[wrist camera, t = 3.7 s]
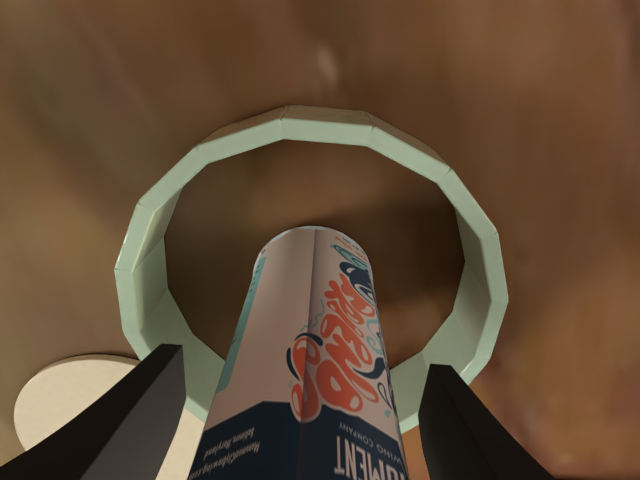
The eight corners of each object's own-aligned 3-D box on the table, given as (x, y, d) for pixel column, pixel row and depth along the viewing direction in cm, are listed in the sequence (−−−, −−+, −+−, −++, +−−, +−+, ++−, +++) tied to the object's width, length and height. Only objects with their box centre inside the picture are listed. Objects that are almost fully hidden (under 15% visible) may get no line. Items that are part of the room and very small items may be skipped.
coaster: (217, 362, 19) (215, 368, 19) (221, 503, 23) (219, 510, 23) (-3, 345, 19) (-9, 351, 19) (40, 490, 23) (35, 497, 23)
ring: (517, 124, 15) (559, 141, 12) (440, 405, 20) (458, 462, 17) (135, 90, 14) (90, 101, 12) (163, 385, 20) (137, 438, 17)
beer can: (382, 309, 18) (467, 719, 7) (276, 333, 19) (201, 743, 8) (356, 207, 16) (415, 550, 5) (238, 236, 17) (66, 600, 6)
